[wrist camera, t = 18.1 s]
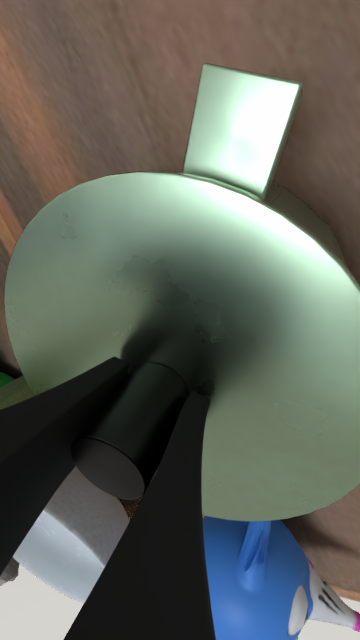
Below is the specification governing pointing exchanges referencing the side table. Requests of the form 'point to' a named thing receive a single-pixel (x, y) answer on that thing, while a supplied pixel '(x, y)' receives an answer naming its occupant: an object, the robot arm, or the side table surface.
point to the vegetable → (15, 392)
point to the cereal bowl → (73, 537)
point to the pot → (248, 138)
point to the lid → (195, 337)
